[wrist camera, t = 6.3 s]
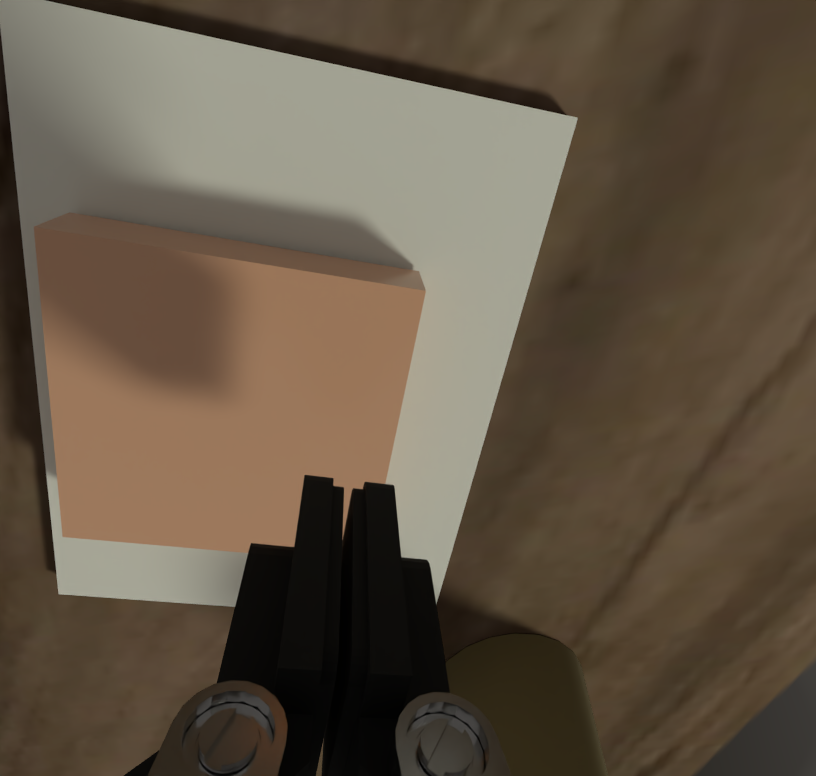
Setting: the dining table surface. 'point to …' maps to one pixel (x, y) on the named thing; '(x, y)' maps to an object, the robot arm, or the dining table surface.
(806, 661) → the dining table surface
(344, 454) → the tile
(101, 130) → the mat
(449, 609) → the dining table surface
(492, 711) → the cork
